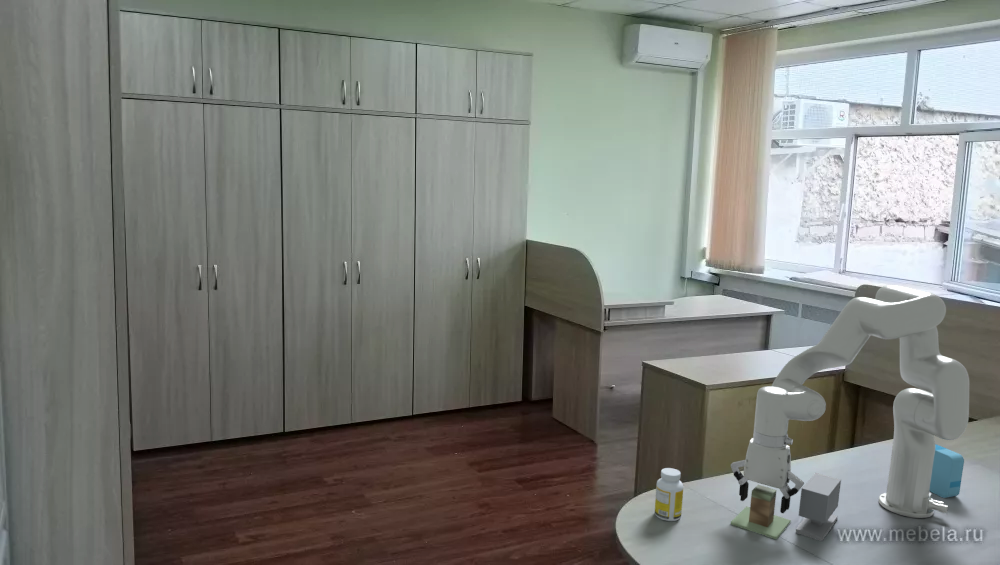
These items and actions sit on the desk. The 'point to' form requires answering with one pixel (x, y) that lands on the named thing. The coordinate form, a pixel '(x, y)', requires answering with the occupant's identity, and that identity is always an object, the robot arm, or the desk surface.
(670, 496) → the pill bottle
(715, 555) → the desk surface
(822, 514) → the mounted unit
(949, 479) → the data package
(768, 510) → the brown and green block
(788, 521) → the mat
